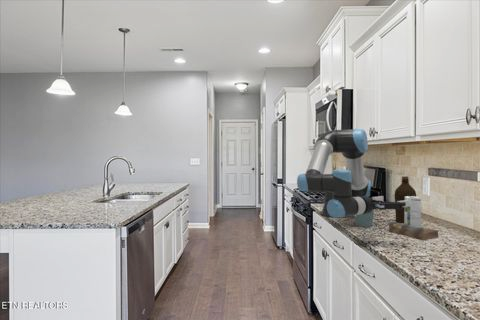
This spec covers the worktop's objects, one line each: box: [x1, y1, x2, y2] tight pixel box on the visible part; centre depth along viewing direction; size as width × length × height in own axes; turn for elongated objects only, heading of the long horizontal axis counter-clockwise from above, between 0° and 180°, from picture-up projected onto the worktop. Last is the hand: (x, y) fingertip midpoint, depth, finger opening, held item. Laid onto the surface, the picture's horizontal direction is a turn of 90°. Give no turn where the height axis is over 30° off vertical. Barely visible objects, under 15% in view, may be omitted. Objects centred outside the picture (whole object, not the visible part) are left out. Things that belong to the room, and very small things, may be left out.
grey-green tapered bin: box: [354, 209, 375, 228], centre depth 175 cm, size 10×10×12 cm
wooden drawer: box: [388, 220, 439, 241], centre depth 155 cm, size 18×10×5 cm, turn 25°
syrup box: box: [404, 196, 422, 228], centre depth 155 cm, size 6×6×14 cm
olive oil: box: [394, 175, 417, 224], centre depth 180 cm, size 11×11×25 cm
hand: (395, 201), depth 151 cm, fingers open, 13 cm apart
